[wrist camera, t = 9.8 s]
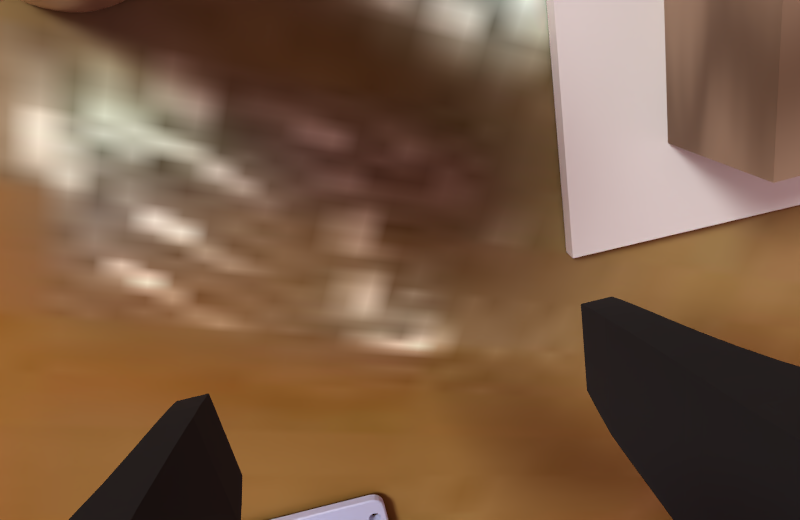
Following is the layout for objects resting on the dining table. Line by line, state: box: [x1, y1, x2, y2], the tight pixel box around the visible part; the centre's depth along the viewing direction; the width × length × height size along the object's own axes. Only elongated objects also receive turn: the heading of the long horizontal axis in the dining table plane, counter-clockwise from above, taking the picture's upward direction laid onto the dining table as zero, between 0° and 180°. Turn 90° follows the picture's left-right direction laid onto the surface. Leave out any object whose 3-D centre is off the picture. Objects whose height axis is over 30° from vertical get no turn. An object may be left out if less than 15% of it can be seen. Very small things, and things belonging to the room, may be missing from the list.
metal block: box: [664, 0, 800, 183], centre depth 17 cm, size 5×5×5 cm
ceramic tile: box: [546, 0, 800, 258], centre depth 19 cm, size 12×12×1 cm
